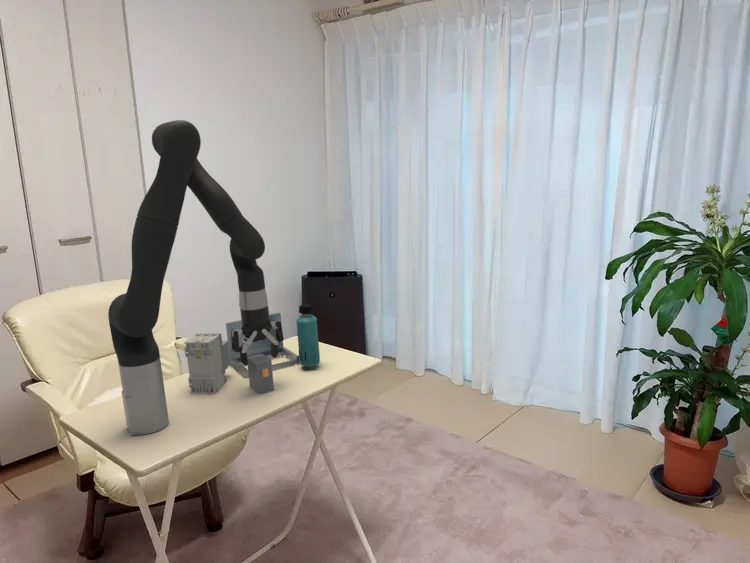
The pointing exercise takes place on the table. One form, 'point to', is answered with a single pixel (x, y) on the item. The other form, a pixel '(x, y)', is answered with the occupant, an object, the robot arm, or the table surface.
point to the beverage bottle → (307, 337)
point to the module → (260, 374)
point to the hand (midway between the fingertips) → (260, 360)
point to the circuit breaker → (207, 362)
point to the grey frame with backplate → (258, 348)
